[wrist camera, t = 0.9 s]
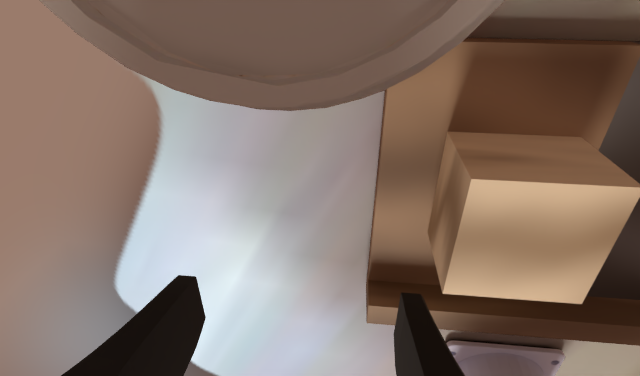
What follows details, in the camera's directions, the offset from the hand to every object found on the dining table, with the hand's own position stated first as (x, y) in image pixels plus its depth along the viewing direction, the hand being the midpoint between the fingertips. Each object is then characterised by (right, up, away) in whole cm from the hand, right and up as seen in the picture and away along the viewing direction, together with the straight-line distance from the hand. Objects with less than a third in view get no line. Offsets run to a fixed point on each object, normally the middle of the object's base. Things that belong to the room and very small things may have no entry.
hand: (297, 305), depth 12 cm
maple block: (+10, +4, +6) cm, 12 cm away
